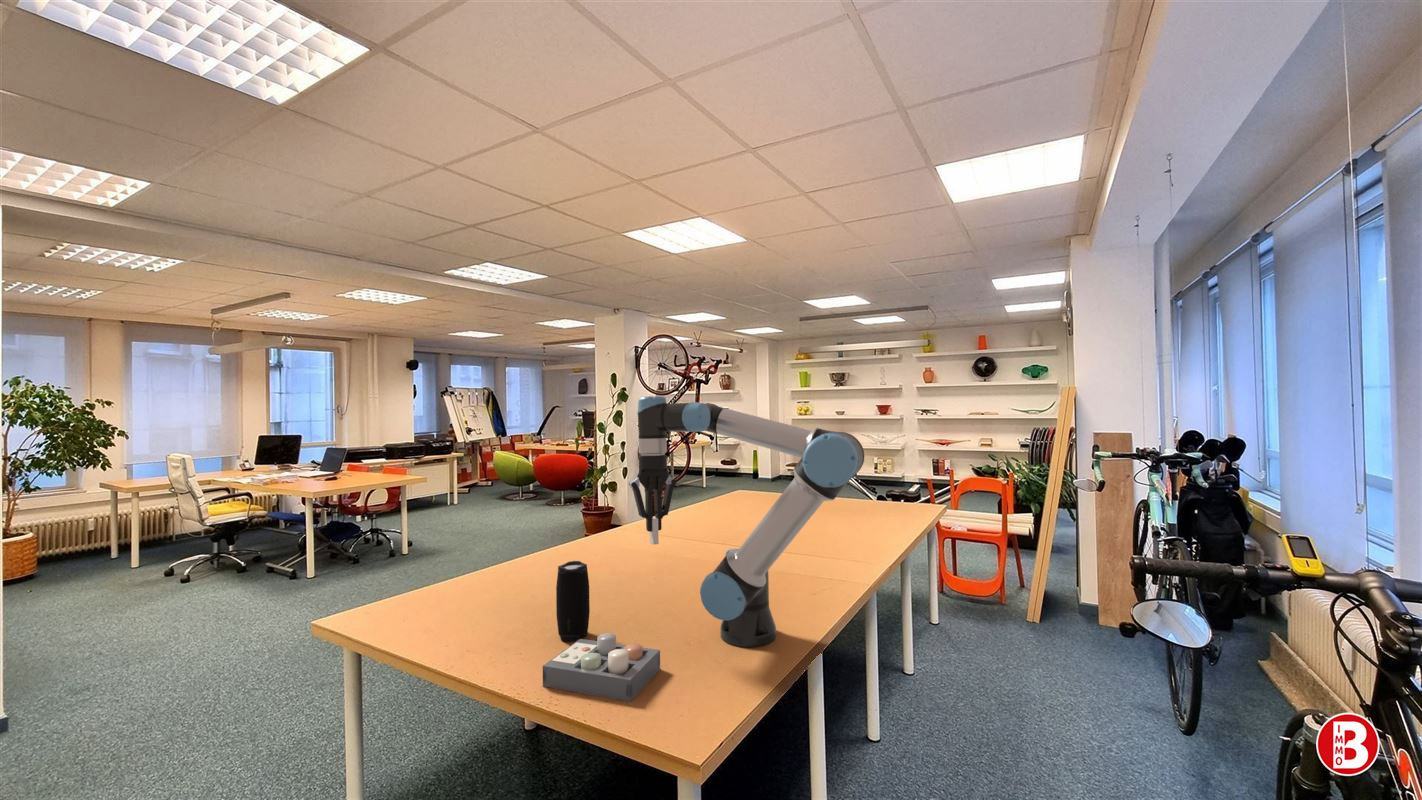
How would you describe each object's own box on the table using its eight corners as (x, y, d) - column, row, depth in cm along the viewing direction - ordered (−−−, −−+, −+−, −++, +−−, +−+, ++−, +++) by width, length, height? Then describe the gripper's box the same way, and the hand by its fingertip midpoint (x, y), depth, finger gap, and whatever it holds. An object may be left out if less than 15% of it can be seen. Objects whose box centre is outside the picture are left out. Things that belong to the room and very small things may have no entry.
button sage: (604, 674, 121) (604, 654, 121) (594, 683, 117) (594, 662, 117) (587, 671, 122) (587, 651, 123) (577, 680, 118) (576, 660, 118)
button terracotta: (646, 664, 125) (645, 645, 125) (637, 673, 121) (637, 653, 121) (629, 661, 127) (629, 642, 127) (620, 670, 123) (620, 650, 123)
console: (660, 669, 126) (659, 648, 126) (630, 701, 112) (630, 678, 112) (580, 656, 133) (580, 637, 133) (542, 686, 119) (542, 664, 119)
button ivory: (632, 670, 119) (631, 650, 119) (622, 680, 115) (622, 659, 115) (614, 668, 120) (614, 648, 120) (604, 677, 116) (604, 656, 116)
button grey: (619, 653, 128) (619, 634, 128) (610, 661, 124) (610, 641, 124) (603, 651, 129) (603, 632, 129) (593, 659, 125) (593, 639, 125)
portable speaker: (569, 628, 152) (568, 559, 152) (596, 632, 148) (596, 562, 149) (549, 639, 144) (548, 567, 145) (577, 645, 140) (576, 570, 141)
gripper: (670, 452, 148) (671, 537, 147) (624, 454, 142) (626, 543, 141) (680, 453, 141) (682, 543, 140) (633, 456, 135) (634, 549, 135)
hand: (654, 543), depth 141 cm, fingers closed
